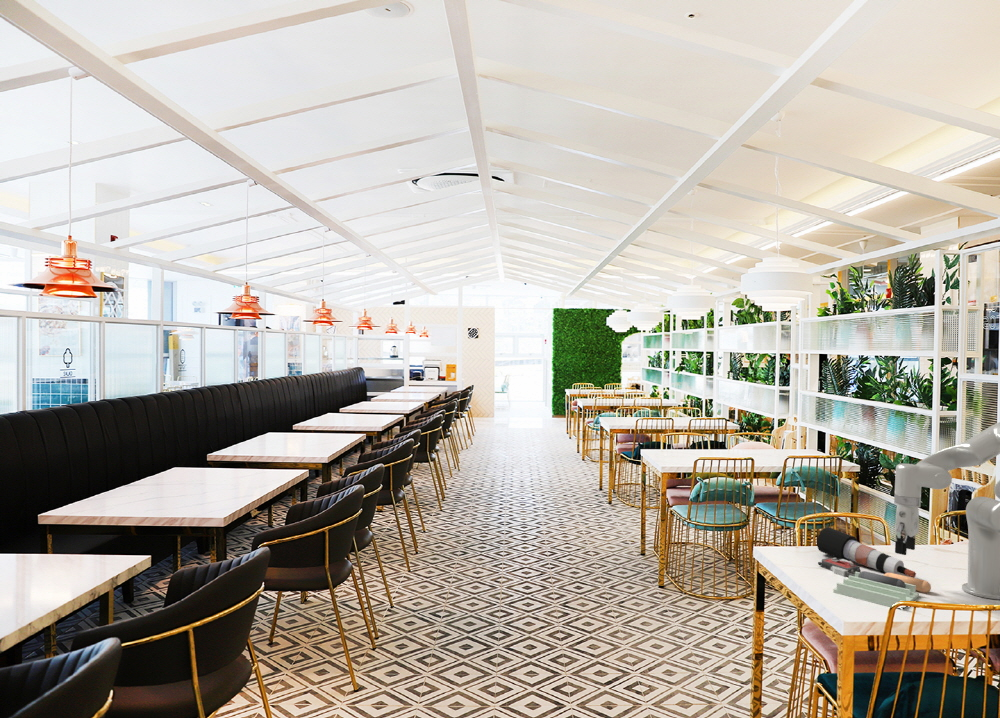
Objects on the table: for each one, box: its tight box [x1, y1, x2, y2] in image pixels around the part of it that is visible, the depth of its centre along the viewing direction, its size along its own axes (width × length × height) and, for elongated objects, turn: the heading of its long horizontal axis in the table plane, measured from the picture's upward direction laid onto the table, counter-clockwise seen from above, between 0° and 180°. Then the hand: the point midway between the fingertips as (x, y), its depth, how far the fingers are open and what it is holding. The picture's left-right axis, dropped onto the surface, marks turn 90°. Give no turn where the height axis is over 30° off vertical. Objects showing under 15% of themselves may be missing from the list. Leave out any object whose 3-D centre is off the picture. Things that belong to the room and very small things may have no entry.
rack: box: [832, 572, 920, 610], centre depth 211 cm, size 20×18×3 cm
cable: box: [816, 526, 917, 578], centre depth 240 cm, size 10×34×10 cm, turn 25°
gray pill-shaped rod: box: [858, 570, 906, 588], centre depth 215 cm, size 14×4×4 cm, turn 43°
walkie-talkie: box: [817, 557, 862, 577], centre depth 232 cm, size 9×4×20 cm
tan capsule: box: [883, 572, 932, 594], centre depth 218 cm, size 14×4×4 cm, turn 43°
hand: (904, 551), depth 218 cm, fingers open, 9 cm apart
